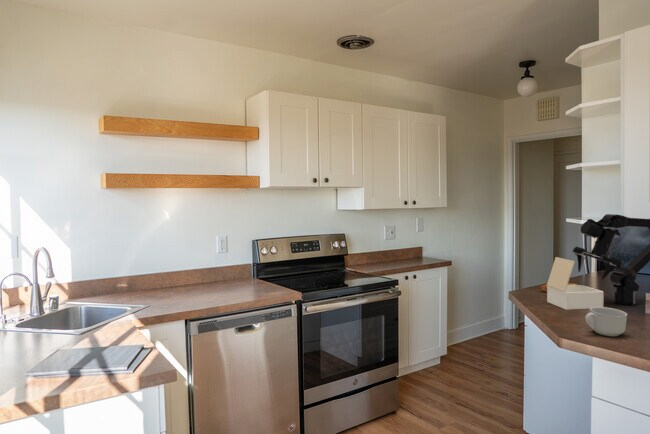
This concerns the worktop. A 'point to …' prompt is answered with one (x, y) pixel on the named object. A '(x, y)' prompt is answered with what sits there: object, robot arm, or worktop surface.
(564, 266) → the flap
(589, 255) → the robot arm
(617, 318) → the teacup
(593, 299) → the carton
